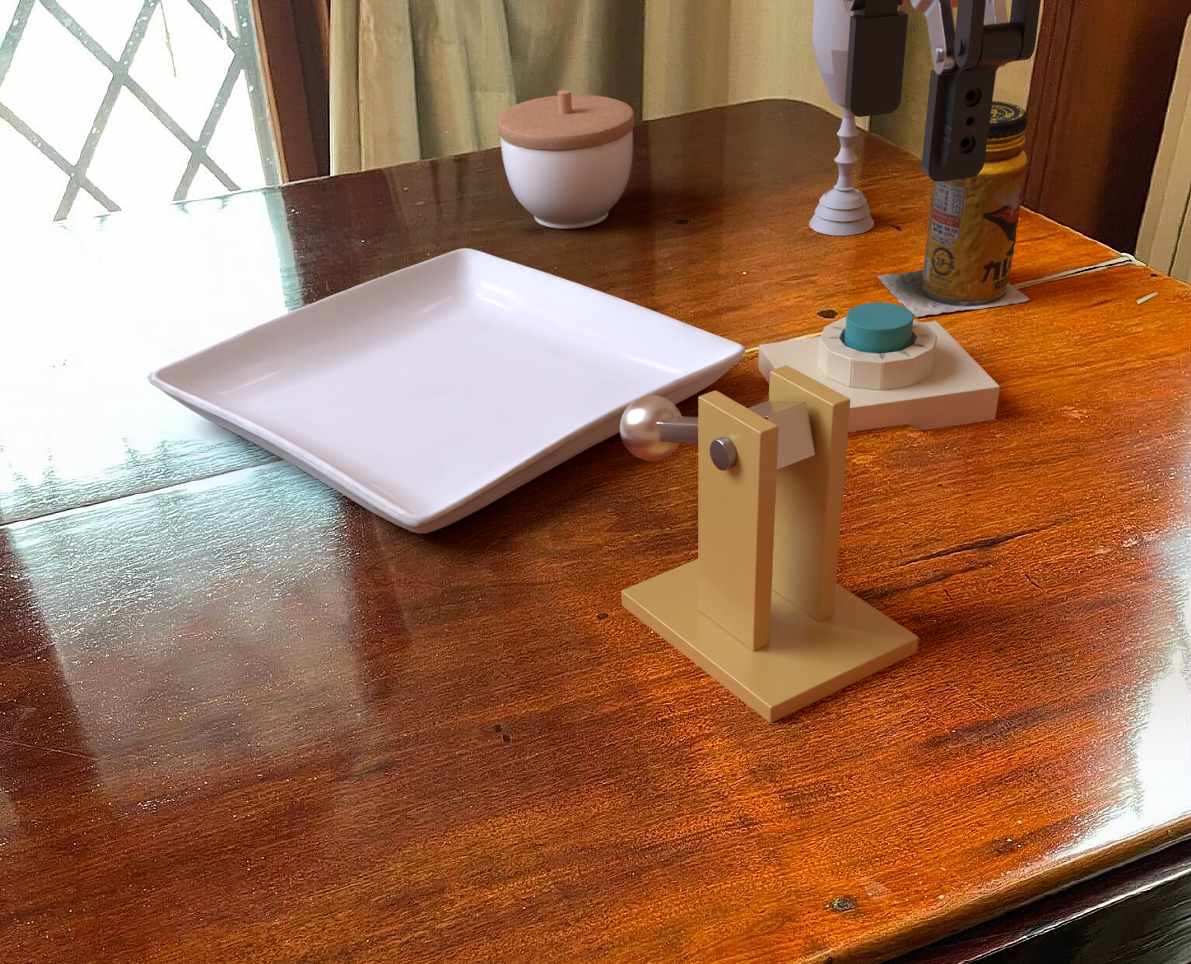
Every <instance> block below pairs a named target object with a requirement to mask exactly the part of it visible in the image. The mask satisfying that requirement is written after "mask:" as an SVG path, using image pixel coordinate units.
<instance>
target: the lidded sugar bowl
mask: <svg viewBox="0 0 1191 964" xmlns="http://www.w3.org/2000/svg"><path fill="white" fill-rule="evenodd" d="M634 113H635V112H634V109H633V108H632V106H630V105H629V104H628V103H626V102H624V101H622V100H619V99H616V98H612V97H609V96H602V95H594V94H572V91H571V90H567V89H562V90H558V91H557V95H551V96H544V97H538V98H533V99H529V100H526V101H523V102H519V103H516V104H514V105H511V106H509V107H508V108H506V109H505V110H503V111H502V112H501V113H500V114H499V116H498V118H497V131H498V135H499V137H500V149H501V157H502V162H503V166H504V171H505V174H506V178H507V181H508V185H509V188H510V189H511V191H512V193H513V195H514V196H515V198H516V200H517V201H518V202H519V204H521V206H522V207H523V208H524V209H525V210H526V211H527V212H528V213H530V214H531V215H532V216H533V218H534V220H535V222H536V223H538V224H539V225H541V226H545V227H546V228H547V227H548V228H553V229H562V230H563V229H564V230H565V229H567V230H568V229H579V228H580V229H581V228H586V227H590V226H591V227H592V226H593V225H597V224H599V223H601V222H603V221H605V220H606V219H607V218H608V216H609V211H611V209H613V207H614V206H615V205H616V204H617V203H618V202H619V200H620V198H622V196H623V194H624V192H625V190H626V189H627V185H628V183H629V180H630V176H631V172H632V166H633V156H634V127H635V114H634Z"/></svg>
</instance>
